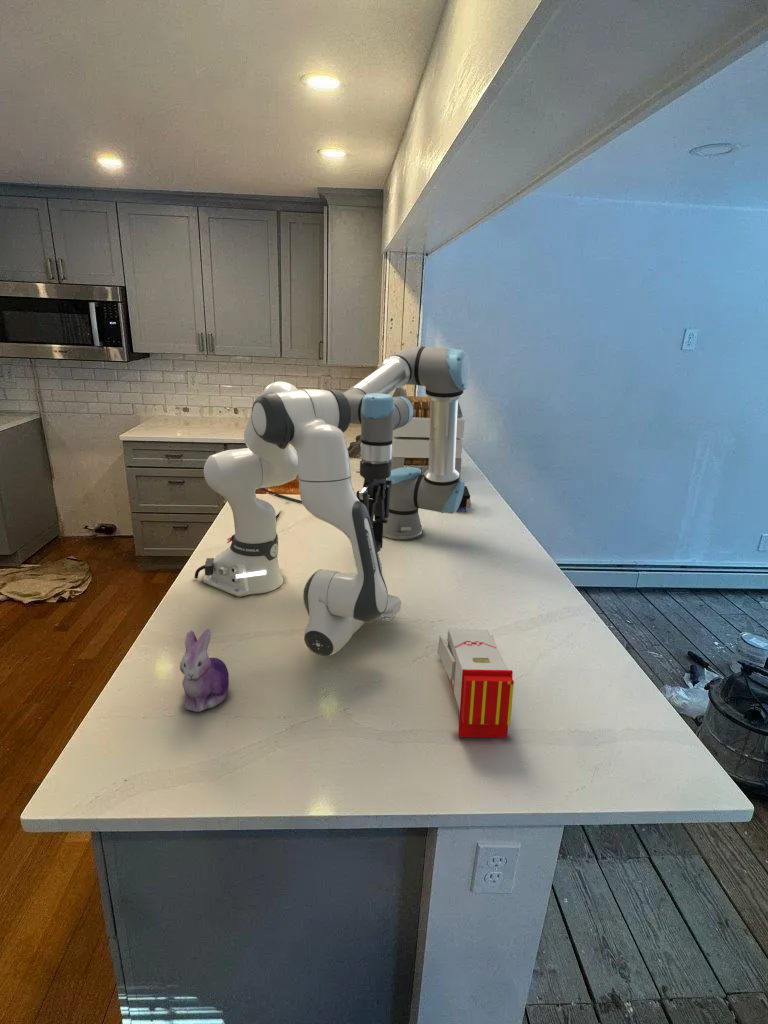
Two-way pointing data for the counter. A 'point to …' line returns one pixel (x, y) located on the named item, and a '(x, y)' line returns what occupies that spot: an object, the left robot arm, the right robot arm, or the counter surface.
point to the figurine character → (465, 500)
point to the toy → (478, 682)
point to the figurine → (202, 674)
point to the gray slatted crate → (419, 435)
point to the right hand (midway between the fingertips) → (372, 549)
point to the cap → (378, 545)
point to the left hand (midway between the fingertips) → (371, 587)
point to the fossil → (355, 447)
